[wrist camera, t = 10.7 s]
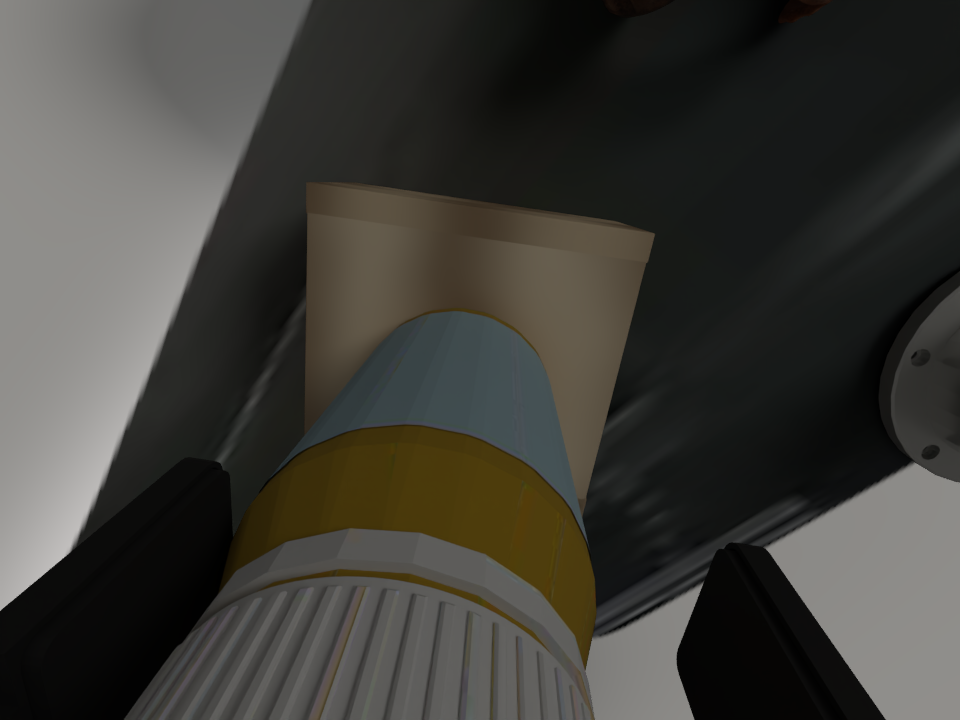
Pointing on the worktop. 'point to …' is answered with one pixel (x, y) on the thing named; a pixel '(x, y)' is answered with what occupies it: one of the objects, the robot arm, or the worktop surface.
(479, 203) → the chopping block
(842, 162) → the worktop surface
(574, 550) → the bottle
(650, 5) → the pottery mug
